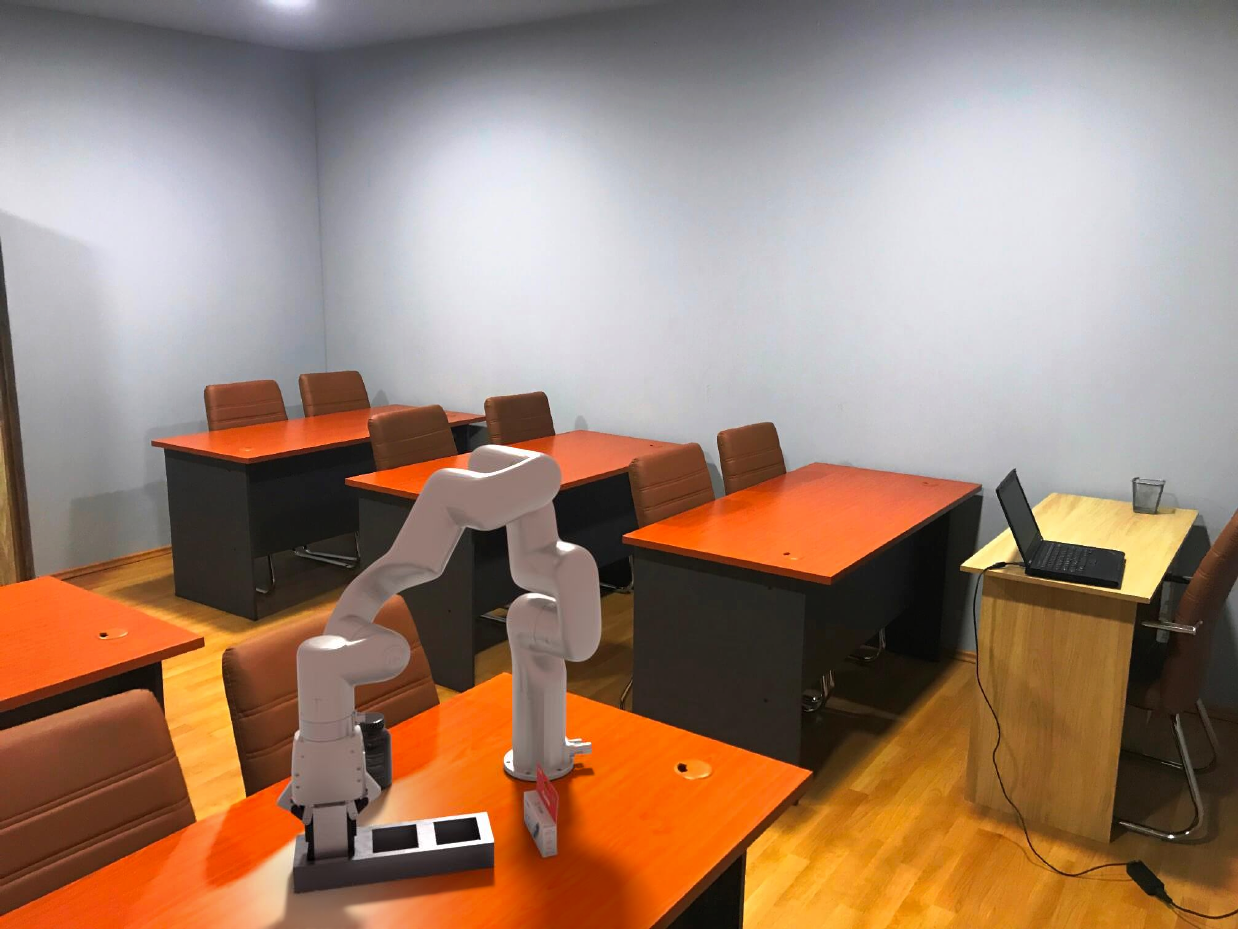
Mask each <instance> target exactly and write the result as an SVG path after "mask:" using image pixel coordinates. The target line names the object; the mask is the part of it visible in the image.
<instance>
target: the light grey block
mask: <svg viewBox="0 0 1238 929" xmlns="http://www.w3.org/2000/svg"><path fill="white" fill-rule="evenodd" d="M313 826H314V851H315V861H318V860H326V859H334V858H342V857H348V841H347V807H346V802H345V801H343V802H335V803H326V804H317V805H314V806H313Z"/></svg>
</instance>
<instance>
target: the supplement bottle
mask: <svg viewBox="0 0 1238 929" xmlns="http://www.w3.org/2000/svg"><path fill="white" fill-rule="evenodd" d="M364 713H365V722H361V723H360V724H357V725H359V726H360V729H361V732H362V737H363V742H364V750H365V761H366V771H367V773H368V774H369V775H370V776H371V777H372V778H373V779H374V780H375V781H376V783H377V784H378V785H379V786H380V787H381V791H382V790H384V789H386V788H388V786H390V785H391V784H392V782H393V753H392V751H393V750H392V747H393V746H392V735H391V733H390V731H389V730H388V728H386V723H385V721H386V719H385V715H384V714H383V713H380V712H377V711H376V712H375V711H372V712H371V711H370V712H364ZM366 791H368V789H367V788H366ZM366 791H365V793H366Z"/></svg>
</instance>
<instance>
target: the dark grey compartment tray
mask: <svg viewBox="0 0 1238 929" xmlns="http://www.w3.org/2000/svg"><path fill="white" fill-rule="evenodd" d="M490 824H491V822H490V819H489V816H488V812H487V811H483V812H477V813H468V814H459V815H451V816H443V817H433V818H425V819H418V820H410V821H401V822H399V821H398V822H392V823H384V824H376V825H366V826H359V827H358V826H357V836H353V837H352V845H350V846H348V857H342V858H334V859H326V860H318V861H315V851H314V850H310V842H305V833H301V834H296V837H295V846H294V853H293V854H294V855H293V863H292V877H293V881H292V883H293V894H294V893H297V894H303V893H310V892H316V891H315V890H319V891H324V890H327V891H328V890H333V888H334V889H340V888H347V887H355V886H362V885H369V884H378V883H386V882H392V881H399V880H407V879H415V878H421V877H429V876H436V875H445V874H452V873H457V872H458V873H459V872H466V871H474V870H480V869H482V870H483V869H489V868H495V839H494V835H493V832H492V828H491V825H490ZM301 892H302V893H301Z"/></svg>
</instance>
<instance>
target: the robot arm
mask: <svg viewBox="0 0 1238 929" xmlns="http://www.w3.org/2000/svg"><path fill="white" fill-rule="evenodd" d="M467 462H468V463H467V469H463V468H462V469H460V468H453V467H452V468H451V467H450V468H449V467H447V468H445V467H444V468H441V469H437V470H436V471H434V472H433V473H432V474H431V475H430V476H429V477H428V479H427V480H426V482H425V483H424V486H423V487H422V490H421V491H420V493H419V495H418V496H417V499H416V501H415V503H414V504H413V506H412V508H411V510H410V512H409V514H408V516H407V518H406V520H405V521H404V524H403V526H402V528H401V529H400V530H399V533H398V535H397V536H396V538H395V540H394V541H393V544H392V545H391V547H390V549H389V550H388V551H387V553H385V554H384V555H383V556H381V557H380V558H378V559H377V560H375V561H374V562H373V563H372V564H370V565H369V566H368V567H367V568H366V569H365V570H363V571H362V572H361V573H360V574H359V575H358V576H356V578H354V579H353V580H352V581H351V582H350V584H348V586H347V587H345V589H344V591H343V593H342V594H341V596H340V597H339V599H338V601H337V603H336V605H335V606H334V608H333V610H332V612H331V614H330V616H329V617H328V620H327V623H326V625H325V627H324V630H323V634H322V635H319V636H313V637H311V638H309V639H308V638H307V639H306V640H304V641H303V642H302V643H301V644H299V646H298V648H297V651H296V673H297V674H296V675H297V676H296V677H297V680H296V681H297V700H298V724H299V729H298V730H297V731H295V733H294V737H293V743H292V755H291V779H290V781H289V782H288V784H287V785H286V787H285V788H284V790H282V792H281V793H280V795H279V797H278V798H277V801H276V802H277V803H276V804H277V807H279V808H280V809H283V810H285V811H287V812H289V813H291V814H292V815H293V816H294V817H295V818H297V819H298V820H299V821H301V824H303V826H304V834H305V842H310V850H314V826H313V806H314V805H317V804H326V803H335V802H343V801H345V802H346V807H347V841H348V846H350V845H352V837H353V836H357V828H358V824H357V822H358V821H357V818H358V817H359V814H361V813H362V811H364V809H365V808H367V807H368V805H369V803H371V802H372V801H374V800H375V799H377V798H378V797H380V795H381V794H382V790H381V787H380V786H379V785H378V784H377V783H376V781H375V780H374V779H373V778H372V777H371V776H370V775H369V774H368V773H367V771H366V761H365V750H364V742H363V737H362V732H361V729H360V726H359V725H357V724H360V723H361V722H365V713H366V712H360V711H358V710H357V709H355V707H356V706H355V687H356V686H362V685H368V684H375V683H382V682H386V681H389V680H392V679H394V678H396V677H398V676H399V675H400V674H401V673H403V671H404V670H405V669H406V668H407V666H408V665H409V661H410V659H411V648H410V644H409V643H408V640H407V639H406V638H405V637H404V636H403V635H401V633H399V632H397V631H395V630H393V629H390V628H389V627H385V626H382V625H380V624H377V623H375V622H374V619H375V618H376V616H377V614H378V613H379V611H381V609H382V607H384V606H385V604H386V603H387V602H388V601H389V600H390V599H391V598H392V597H394V596H395V595H396V594H398V593H400V592H401V591H403V590H406V589H408V588H411V587H415V586H418V585H421V584H423V583H428V582H430V581H432V580H435V579H438V578H439V577H440V576H442V574H443V573H444V571H445V568H446V566H447V565H448V563H449V561H450V558H451V556H452V554H453V552H454V550H455V548H456V546H457V544H458V542H459V540H460V538H461V536H462V534H463V533H464V531H465V529H466V528H470V529H473V530H477V531H487V532H488V531H492V530H496V529H499V528H502V527H505V528H506V534H507V535H506V536H507V548H508V549H507V550H508V557H509V559H508V560H509V570H510V574H511V578H512V580H513V582H514V584H516V585H517V586H518V587H519V588H522V589H524V590H526V591H530V592H529V593H524V594H522V595H519V596H518V597H517V598H516V599H515V600H514V601H513V602H512V603H511V604H510V606H509V608H508V611H507V614H506V633H507V637H508V642H509V647H510V653H511V665H512V666H511V667H512V672H511V674H512V675H511V676H512V678H511V679H512V680H511V682H512V683H511V685H512V686H511V687H512V689H511V690H512V691H511V692H512V693H511V694H512V696H511V697H512V702H511V703H512V706H511V707H512V708H511V709H512V712H511V713H512V715H511V716H512V717H511V718H512V719H511V720H512V721H511V722H512V723H511V724H512V725H511V726H512V729H511V730H512V731H511V733H512V734H511V736H512V737H511V740H512V741H511V744H512V747H511V750H509V751H508V752H507V753H506V754H505V755H504V757H503V763H502V764H503V769H504V770H505V772H507V774H509V775H510V776H512V777H514V778H516V779H519V780H522V781H528V782H537V763H539V765H540V767H541V768H542V770H543V772H544V773H545V775H546V776H547V778H548V779H549V781H551V780H556V779H559V778H561V777H564V776H566V775H567V774H569V772H571V771H572V770H573V768H574V766H573V765H575V758H574V757H575V756H576V755H588V754H592V752H593V747H592V743H591V742H583V739H582V738H574V739H569V738H567V736H566V734H567V731H566V730H567V728H566V727H567V726H566V725H567V668H566V663H565V661H569V662H575V663H576V662H578V663H579V662H584V661H586V660H588V659H590V658H591V657H592V656H593V655H594V654H595V652H596V651H597V650H598V647H599V645H600V641H601V636H602V612H601V610H602V607H601V593H600V592H601V591H600V590H601V589H600V579H599V578H600V577H599V569H598V566H597V563H596V560H595V558H594V557H593V555H592V553H590V551H589V550H587V549H586V548H585V547H584V546H583V547H582V546H580V545H578V544H574V543H571V542H567V541H563V540H562V539H561V538H560V537H559V534H558V527H557V526H558V525H557V518H556V511H555V506H554V503H553V499H554V498H556V496H557V495H558V493H559V491H560V488H561V485H562V479H563V474H562V469H561V467H560V465H559V463H558V462H557V460H555V459H554V458H553V457H552V456H550V455H549V454H546V453H543V452H540V451H539V452H538V451H534V450H528V449H527V450H526V449H521V448H516V447H511V446H506V445H498V444H487V445H481V446H478V447H477V448H475V449H474V450H473V451H472V452H471V453H470V455H469V457H468V461H467ZM366 788H367V789H368V791H366ZM365 791H366V792H365Z"/></svg>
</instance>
